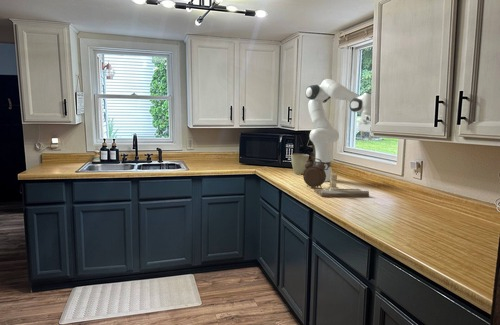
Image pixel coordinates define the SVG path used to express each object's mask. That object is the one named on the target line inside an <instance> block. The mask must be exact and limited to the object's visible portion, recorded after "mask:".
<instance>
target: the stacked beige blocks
mask: <svg viewBox="0 0 500 325" xmlns="http://www.w3.org/2000/svg"><path fill="white" fill-rule="evenodd" d="M337 183H338V174H337V173H332V174H331V176H330V181H329V185H327V187H326V189H327V191H339V189H340V188H339V187H338V186H337Z"/></svg>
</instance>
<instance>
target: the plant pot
mask: <svg viewBox="0 0 500 325" xmlns="http://www.w3.org/2000/svg"><path fill="white" fill-rule="evenodd" d="M309 158H310V155H309V154H307V153H306V154H305V153H291V154H290V159H291V160H290V161H291V165H292V171H293V173H295V174H294V175H298V174H302V175H303V174H304V171H305V169H306V168H305V164H306V163H307V161H308V162H309V160H310V159H309Z"/></svg>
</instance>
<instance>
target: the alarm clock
mask: <svg viewBox="0 0 500 325" xmlns="http://www.w3.org/2000/svg"><path fill="white" fill-rule="evenodd" d="M315 159H317V158H316V157H313V158H310V159H308V161H307V163H306V164H305V168H306V169H305V171H304V174H302V176H303V181H304V183H305V184H306V187H309V186H310V187H311V188H316V189H319V187H320V189H323V188H322V185H323V184H324V183H325V182H326V181H325V179H326V173H325V171H324V169H325V165H324V164H323V163H324V162H322V161H321V160H320V159H317V160H320V162H321V163H318V164H317V165H314V164H316V163H314V162H312V160H315Z"/></svg>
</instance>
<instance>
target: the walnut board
mask: <svg viewBox="0 0 500 325" xmlns="http://www.w3.org/2000/svg"><path fill="white" fill-rule="evenodd" d="M313 192H314V194H317V195H319V196H320V197H321V198H369V197H370V191H369V190H361V189H360V188H339V191H327V188H313Z"/></svg>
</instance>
